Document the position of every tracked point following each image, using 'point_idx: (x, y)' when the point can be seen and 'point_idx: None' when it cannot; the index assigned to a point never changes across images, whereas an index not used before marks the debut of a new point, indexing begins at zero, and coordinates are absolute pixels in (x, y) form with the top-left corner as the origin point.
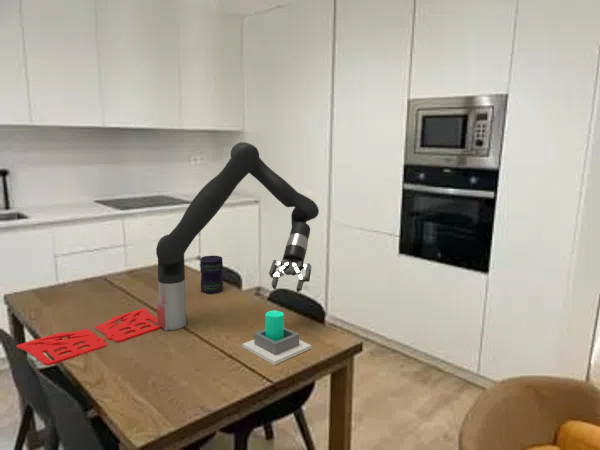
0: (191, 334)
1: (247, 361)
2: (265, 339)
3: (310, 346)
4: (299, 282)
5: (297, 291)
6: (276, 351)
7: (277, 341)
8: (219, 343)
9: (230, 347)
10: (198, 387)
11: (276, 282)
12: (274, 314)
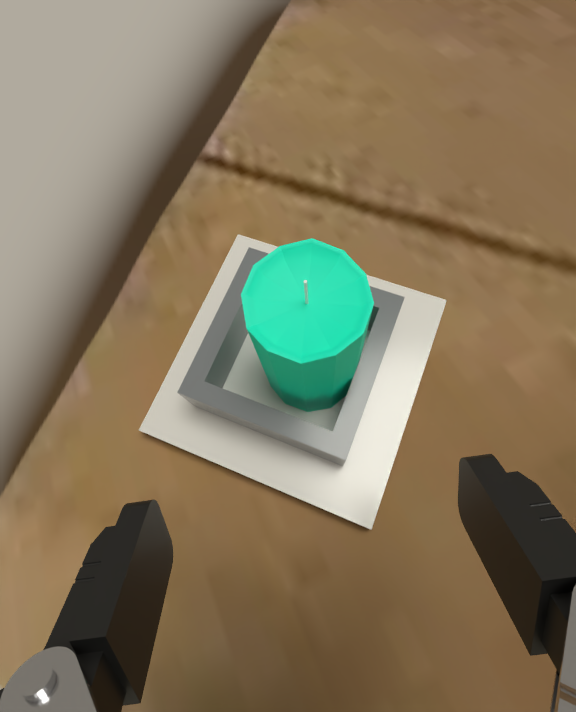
0: None
1: (349, 223)
2: None
3: (142, 427)
4: (95, 591)
5: (164, 535)
6: None
7: (250, 271)
8: (560, 292)
9: (488, 284)
10: (394, 50)
11: (499, 554)
12: (307, 299)
